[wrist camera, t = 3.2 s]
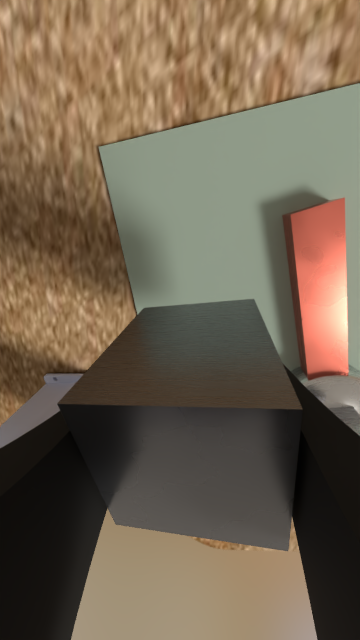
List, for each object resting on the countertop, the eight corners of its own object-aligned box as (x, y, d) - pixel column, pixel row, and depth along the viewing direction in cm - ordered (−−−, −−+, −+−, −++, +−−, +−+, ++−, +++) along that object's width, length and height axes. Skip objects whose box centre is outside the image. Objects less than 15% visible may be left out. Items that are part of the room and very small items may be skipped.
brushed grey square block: (162, 390, 12) (115, 524, 7) (143, 307, 10) (56, 403, 5) (255, 390, 11) (288, 551, 6) (254, 298, 9) (303, 409, 4)
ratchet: (367, 420, 19) (421, 493, 14) (282, 425, 21) (301, 491, 16) (373, 186, 12) (481, 162, 7) (246, 226, 14) (260, 230, 9)
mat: (162, 416, 24) (161, 419, 23) (101, 148, 14) (98, 146, 14) (374, 426, 19) (377, 430, 19) (497, 53, 10) (508, 46, 9)
